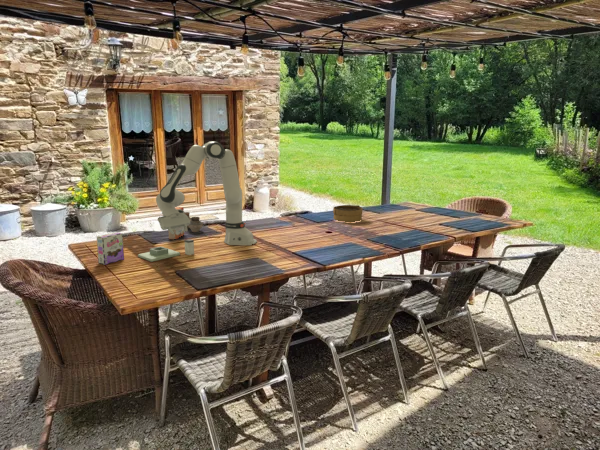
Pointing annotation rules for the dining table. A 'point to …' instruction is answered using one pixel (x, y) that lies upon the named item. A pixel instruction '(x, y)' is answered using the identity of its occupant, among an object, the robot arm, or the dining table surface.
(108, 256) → the candy box
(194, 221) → the pottery
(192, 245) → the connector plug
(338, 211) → the steamer basket
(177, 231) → the cracker box
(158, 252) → the holder plate
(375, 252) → the dining table surface
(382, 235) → the dining table surface
